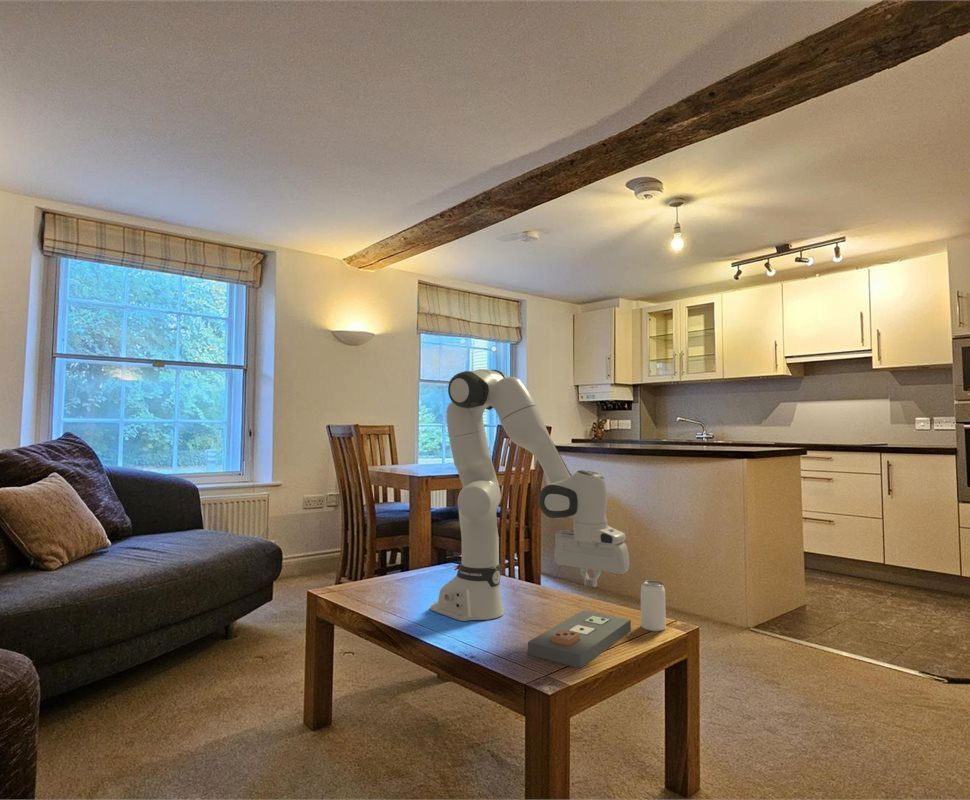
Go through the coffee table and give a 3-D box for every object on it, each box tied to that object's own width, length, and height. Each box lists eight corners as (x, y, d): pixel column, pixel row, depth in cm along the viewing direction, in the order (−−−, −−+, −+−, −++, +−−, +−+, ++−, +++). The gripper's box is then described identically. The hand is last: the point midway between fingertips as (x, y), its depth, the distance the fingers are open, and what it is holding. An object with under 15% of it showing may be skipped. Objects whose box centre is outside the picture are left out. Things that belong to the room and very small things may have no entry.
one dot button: (568, 642, 149) (568, 629, 149) (577, 636, 153) (577, 624, 153) (586, 646, 146) (586, 633, 146) (595, 640, 150) (595, 627, 150)
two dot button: (584, 632, 156) (584, 619, 157) (592, 626, 160) (592, 615, 161) (601, 636, 153) (601, 623, 154) (609, 630, 158) (609, 618, 158)
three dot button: (551, 647, 142) (551, 634, 142) (561, 641, 146) (561, 628, 146) (569, 652, 139) (569, 638, 139) (579, 646, 143) (579, 632, 143)
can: (646, 622, 165) (646, 578, 165) (669, 627, 161) (668, 582, 161) (636, 628, 160) (636, 583, 160) (659, 633, 156) (659, 587, 156)
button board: (527, 654, 142) (527, 641, 142) (583, 621, 166) (583, 610, 166) (580, 668, 133) (580, 655, 134) (630, 631, 158) (630, 619, 158)
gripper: (549, 530, 159) (550, 582, 158) (622, 538, 147) (622, 594, 146) (560, 527, 164) (560, 577, 163) (631, 534, 152) (632, 589, 151)
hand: (590, 585), depth 155 cm, fingers closed
